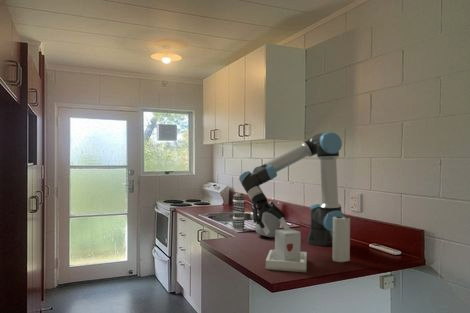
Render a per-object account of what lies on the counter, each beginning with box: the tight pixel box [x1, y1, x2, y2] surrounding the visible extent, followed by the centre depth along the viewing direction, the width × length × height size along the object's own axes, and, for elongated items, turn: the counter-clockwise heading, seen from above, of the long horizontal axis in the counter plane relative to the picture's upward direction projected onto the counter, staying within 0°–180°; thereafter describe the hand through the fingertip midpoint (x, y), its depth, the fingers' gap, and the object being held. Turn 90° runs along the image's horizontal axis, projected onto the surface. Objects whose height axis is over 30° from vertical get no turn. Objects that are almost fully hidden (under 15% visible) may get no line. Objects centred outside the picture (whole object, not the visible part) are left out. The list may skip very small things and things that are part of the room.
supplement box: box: [274, 228, 302, 262], centre depth 160 cm, size 9×9×15 cm
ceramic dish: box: [265, 249, 308, 273], centre depth 159 cm, size 18×18×4 cm
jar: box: [254, 197, 282, 238], centre depth 215 cm, size 19×15×25 cm
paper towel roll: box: [331, 217, 351, 263], centre depth 166 cm, size 7×6×21 cm
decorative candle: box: [231, 192, 246, 231], centre depth 237 cm, size 9×9×25 cm
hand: (278, 231), depth 163 cm, fingers open, 13 cm apart
